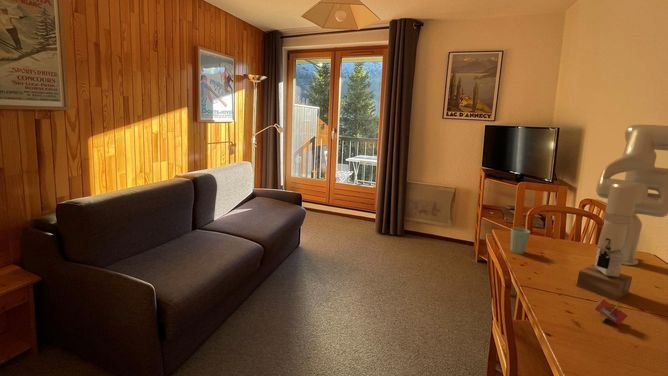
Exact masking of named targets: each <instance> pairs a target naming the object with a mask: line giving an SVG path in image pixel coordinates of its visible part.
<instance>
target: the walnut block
mask: <svg viewBox="0 0 668 376" xmlns="http://www.w3.org/2000/svg"><path fill="white" fill-rule="evenodd" d="M594 265H595V264H591V265H589V266H587V267H585V268H583V269H580V270H579V271H578V277H577V282H576V287H578V288H581V289H584V290H586V291H589V292H591V293H593V294H596V295H599V296H602V297H604V298H607V299H609V300H612V301H614V302H617V301H618V300H620V299H621V298H623V297H624V296H625V295H627V294H629V292H630V288H631V284H632V281H633V276H630V275H627V274H624V273H621V272H620V275H619V277H614V276H606V275H605V274H603V273H602V272H601V271H599V270H598V269H597V268H596V267H594Z"/></svg>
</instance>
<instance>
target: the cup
mask: <svg viewBox="0 0 668 376" xmlns="http://www.w3.org/2000/svg"><path fill="white" fill-rule="evenodd" d="M530 234H531V231H530V230H528V229H527V228H522V227H511V228H510V252H512V253H514V254H517V255H524V253H525V250H526V247H527V244H528V241H529V238H530V236H531V235H530Z"/></svg>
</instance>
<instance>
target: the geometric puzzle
mask: <svg viewBox="0 0 668 376" xmlns="http://www.w3.org/2000/svg"><path fill="white" fill-rule="evenodd" d="M608 301H611V299H609V300H608ZM608 301H606V300H605V299H604V298H603V299H601V300H599V301H597V302H596V304H595V308H594V310H595V311H596V312H598V313H599V314H600V315H602V316H603V317H604V319H602V318H603V317H602V316H599V319H600V320H601V323H604V322H605V319H607V320H608V323H611V322H612V323H613V324H614V325H617V326H620V324H622V322H623V321H624V320H625V319H626V318H627V317H628V315H627V313H626V312H624V311H622V310H621V309H620V307H618V305H620V304H621V302H620V301H619V302H617V301H616V304H617V305H614V303H612V302H608Z"/></svg>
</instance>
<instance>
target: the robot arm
mask: <svg viewBox="0 0 668 376" xmlns="http://www.w3.org/2000/svg"><path fill="white" fill-rule="evenodd" d="M624 132H625V133H624V139H625V142H626V143H625V146H624V149H623V150H624V151H623V152H622V156H621V157H619V158H617V159H614V160H613V161H611V162H610V163H609V164H607V165H606V166H605V167H604V168H603V170H602V171H601V173H600V177H599V179H598V182H597V185H596V189H595V191H596V195H597V196H598V197H600V198H602V199H607V202H606V207H605V210H604V216H603V222H604V223H603V226H602V228H601V231H600V235H599V237H598V238H599V239H598V242H597V249H598V248H600V251H599V252H600V253H599V257H598V262H597V266H598V267H602V268H605V269H608V267H609V262H610V258H609V257H610V254H611V253H612V252H614V251H617V250H618V251H620V252H621V253H623V254H624V256H623V261H622V265H623V266H624V265H626V266H637V265H639V260H638V259H636V258H635V256H636V254H637V249H638V244H639V240H640V236H641V232H642V227H643V224H642V223H643V222H642V220H641V219H640V218H639V216H638V215H644V216H649V217H655V218H664V217H666V216H667V215H668V168H667V167H665V168H664V167H656V166H655V165H656V160H657V153H656V151H666V152H667V151H668V125H661V124H660V125H658V124H633V125H629V126H627V127H626V129H625V131H624ZM655 150H656V151H655ZM621 173H625V177H624V179H618V178H617V179H616V178H612V177H614V176H616V175H618V174H621ZM649 190H650V191H654V192H657V193H653V192H649ZM607 248H609V249H607ZM607 251H608V254H607Z"/></svg>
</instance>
